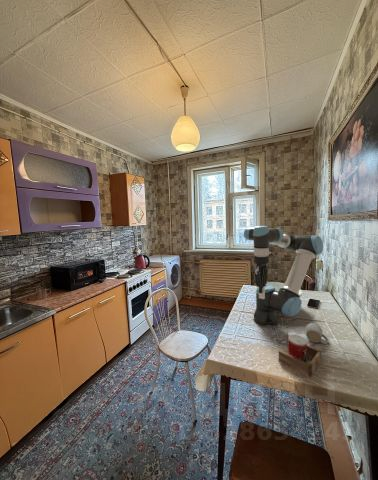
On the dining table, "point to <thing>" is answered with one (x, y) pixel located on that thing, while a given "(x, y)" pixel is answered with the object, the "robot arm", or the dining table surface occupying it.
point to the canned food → (297, 347)
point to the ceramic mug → (315, 333)
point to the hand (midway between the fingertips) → (261, 298)
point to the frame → (300, 364)
